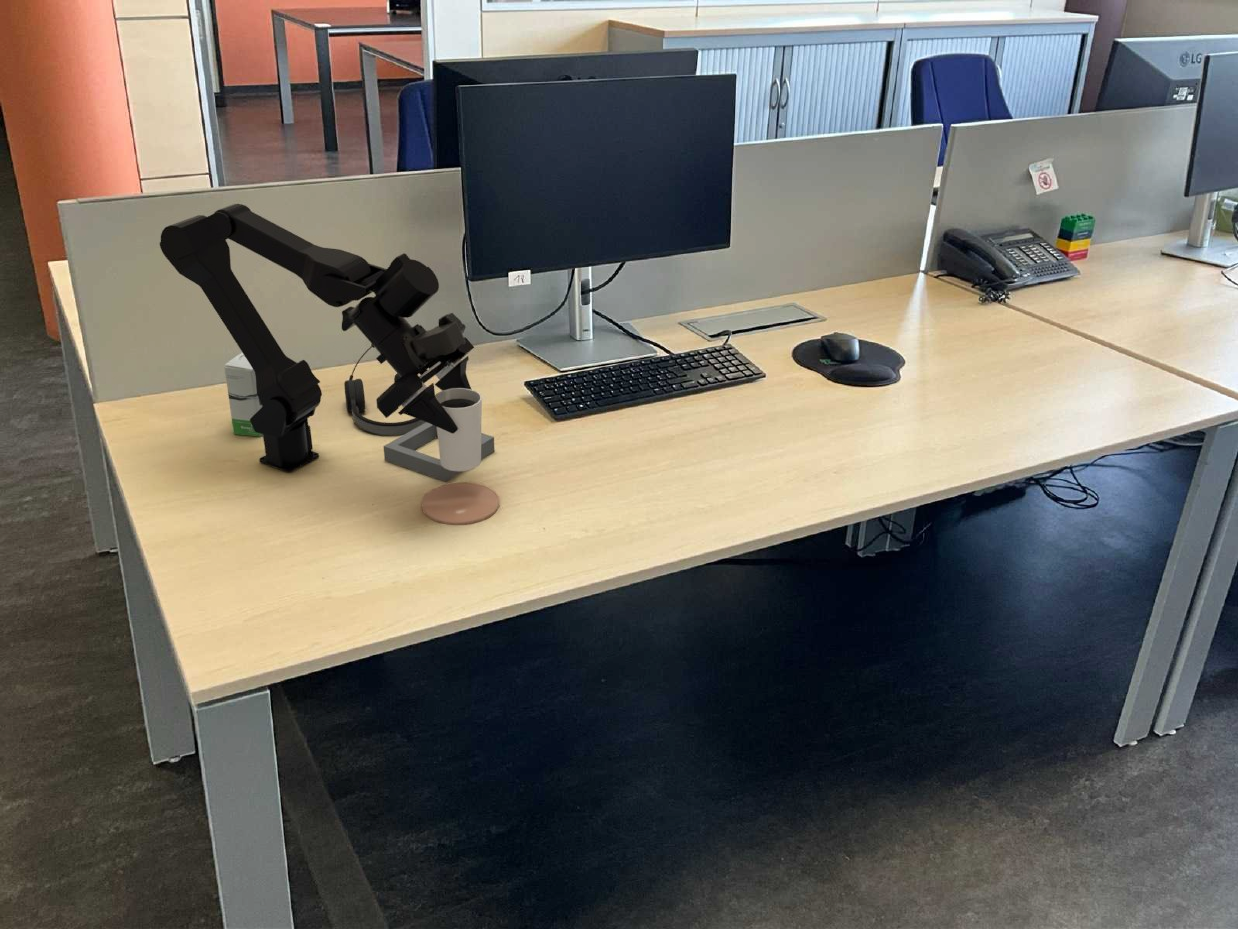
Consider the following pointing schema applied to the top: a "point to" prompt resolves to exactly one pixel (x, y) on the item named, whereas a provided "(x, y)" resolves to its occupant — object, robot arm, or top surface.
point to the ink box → (242, 395)
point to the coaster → (460, 503)
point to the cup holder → (407, 457)
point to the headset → (378, 428)
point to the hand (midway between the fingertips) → (466, 421)
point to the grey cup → (461, 429)
